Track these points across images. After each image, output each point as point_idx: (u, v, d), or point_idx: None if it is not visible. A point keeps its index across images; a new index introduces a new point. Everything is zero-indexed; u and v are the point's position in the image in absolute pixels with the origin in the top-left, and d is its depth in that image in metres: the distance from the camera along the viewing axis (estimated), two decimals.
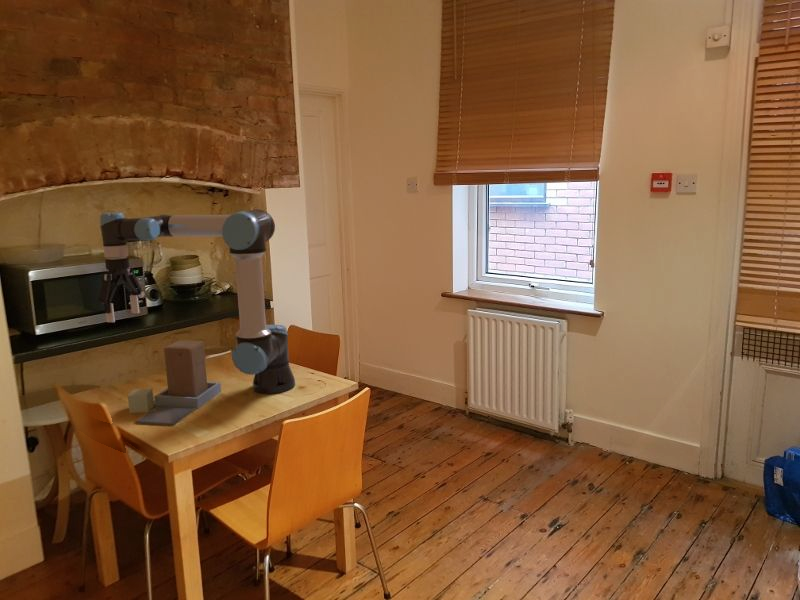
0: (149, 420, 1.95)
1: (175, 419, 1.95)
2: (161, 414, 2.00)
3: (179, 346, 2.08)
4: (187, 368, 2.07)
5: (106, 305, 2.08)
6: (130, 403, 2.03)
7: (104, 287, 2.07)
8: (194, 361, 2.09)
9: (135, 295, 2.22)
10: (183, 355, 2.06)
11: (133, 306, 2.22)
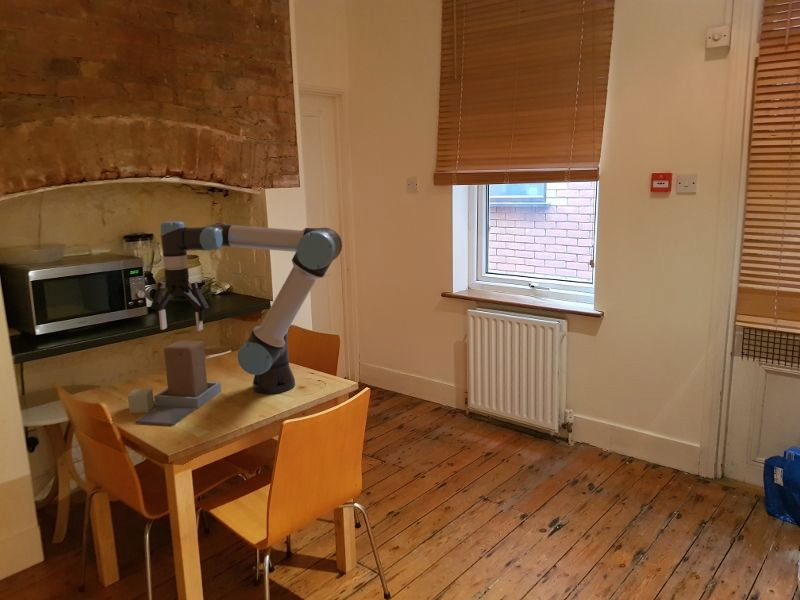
0: (149, 420, 1.95)
1: (175, 419, 1.95)
2: (161, 414, 2.00)
3: (179, 346, 2.08)
4: (187, 368, 2.07)
5: None
6: (130, 403, 2.03)
7: None
8: (194, 361, 2.09)
9: (197, 311, 2.07)
10: (183, 355, 2.06)
11: None
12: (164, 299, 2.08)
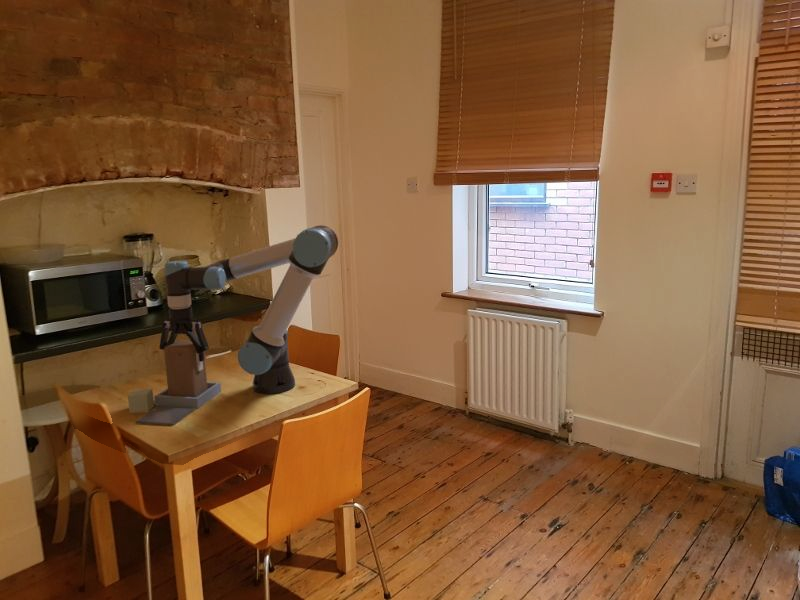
0: (149, 420, 1.95)
1: (175, 419, 1.95)
2: (161, 414, 2.00)
3: (179, 346, 2.08)
4: (187, 368, 2.07)
5: None
6: (130, 403, 2.03)
7: None
8: (194, 361, 2.09)
9: None
10: (183, 355, 2.06)
11: None
12: (171, 339, 2.10)
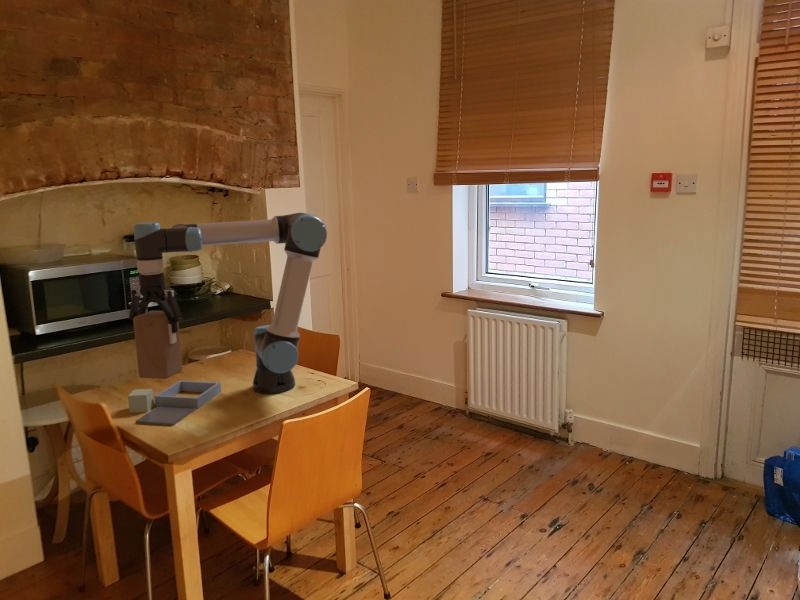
0: (149, 420, 1.95)
1: (175, 419, 1.95)
2: (161, 414, 2.00)
3: (150, 316, 1.90)
4: (158, 340, 1.89)
5: None
6: (130, 403, 2.03)
7: None
8: (166, 332, 1.91)
9: (170, 323, 1.92)
10: (154, 326, 1.88)
11: None
12: (141, 308, 1.93)
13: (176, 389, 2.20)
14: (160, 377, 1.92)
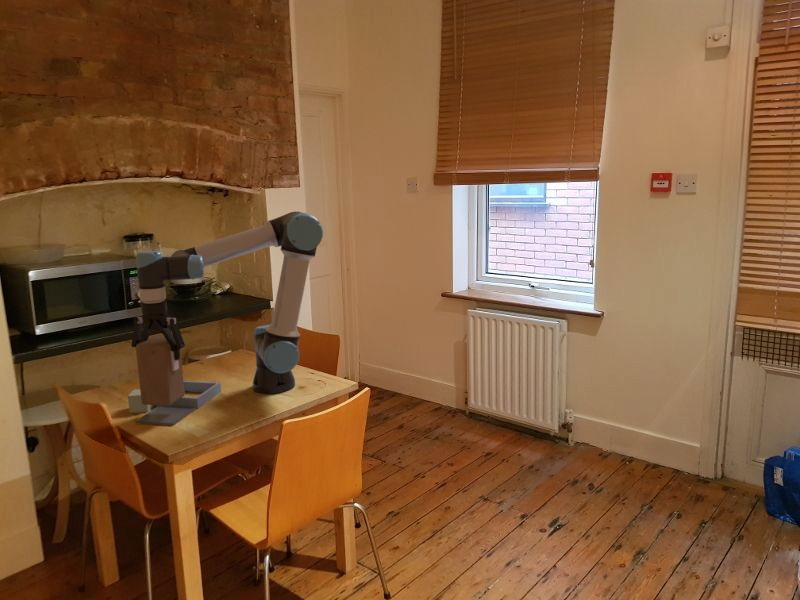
0: (149, 420, 1.95)
1: (175, 419, 1.95)
2: (161, 414, 2.00)
3: (152, 343, 1.91)
4: (161, 367, 1.90)
5: None
6: (130, 403, 2.03)
7: None
8: (169, 360, 1.92)
9: None
10: (156, 353, 1.90)
11: None
12: (143, 335, 1.94)
13: None
14: (163, 404, 1.93)
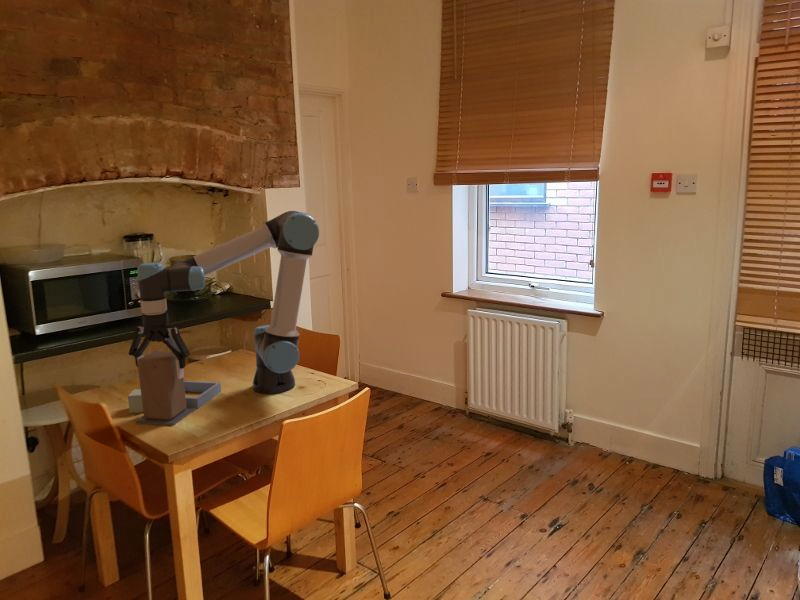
0: (149, 420, 1.95)
1: (175, 419, 1.95)
2: None
3: (154, 358, 1.92)
4: (162, 382, 1.91)
5: None
6: (130, 403, 2.03)
7: None
8: (170, 374, 1.93)
9: (177, 358, 1.94)
10: (158, 368, 1.90)
11: None
12: (142, 345, 1.95)
13: None
14: (165, 418, 1.94)
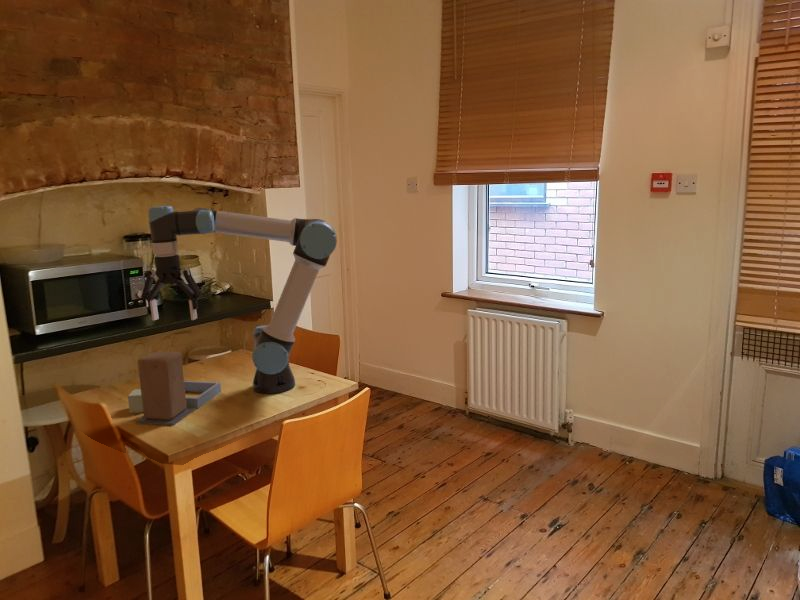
0: (149, 420, 1.95)
1: (175, 419, 1.95)
2: None
3: (154, 358, 1.92)
4: (163, 382, 1.91)
5: None
6: (130, 403, 2.03)
7: None
8: (171, 374, 1.93)
9: None
10: (158, 368, 1.91)
11: None
12: (155, 288, 1.98)
13: None
14: (165, 418, 1.94)
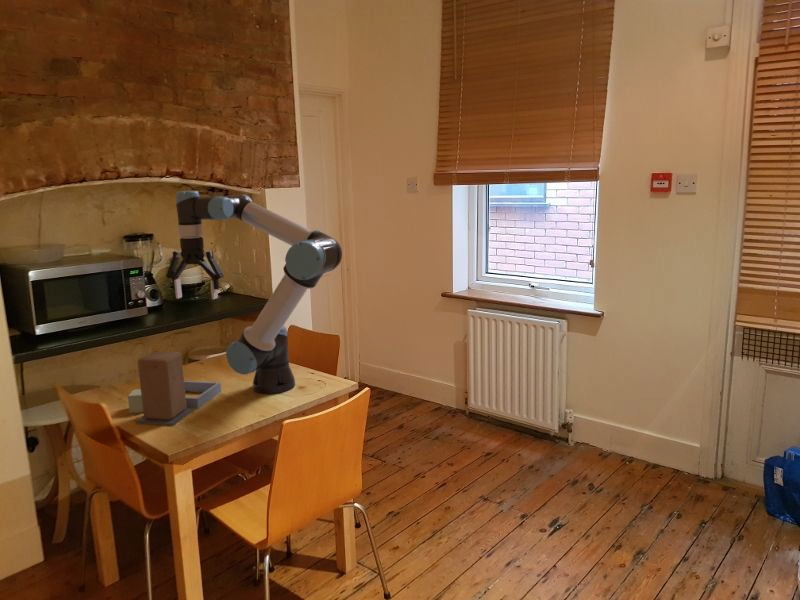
0: (149, 420, 1.95)
1: (175, 419, 1.95)
2: None
3: (154, 358, 1.92)
4: (163, 382, 1.91)
5: None
6: (130, 403, 2.03)
7: None
8: (171, 374, 1.93)
9: (212, 280, 2.10)
10: (158, 368, 1.91)
11: None
12: (179, 268, 2.11)
13: None
14: (165, 418, 1.94)
